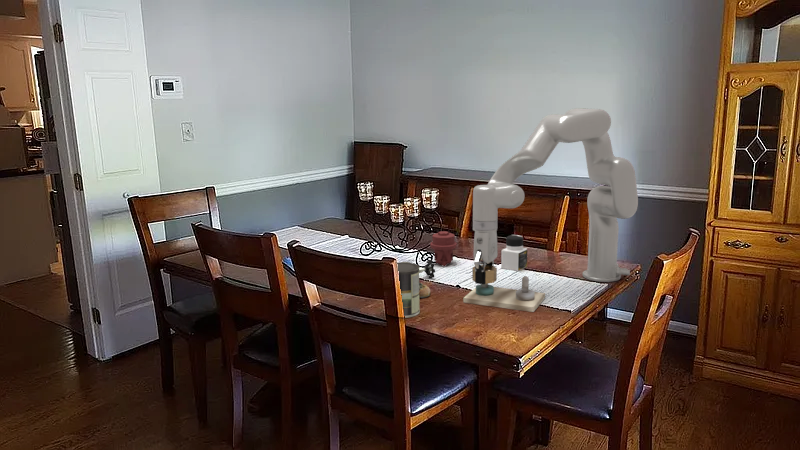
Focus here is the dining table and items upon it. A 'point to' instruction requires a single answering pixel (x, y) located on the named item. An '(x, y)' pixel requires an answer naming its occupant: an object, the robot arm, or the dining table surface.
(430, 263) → the valve
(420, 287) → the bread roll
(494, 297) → the hub board
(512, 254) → the medicine bottle
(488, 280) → the ring
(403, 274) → the coffee can
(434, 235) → the mechanical component
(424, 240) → the dining table surface
